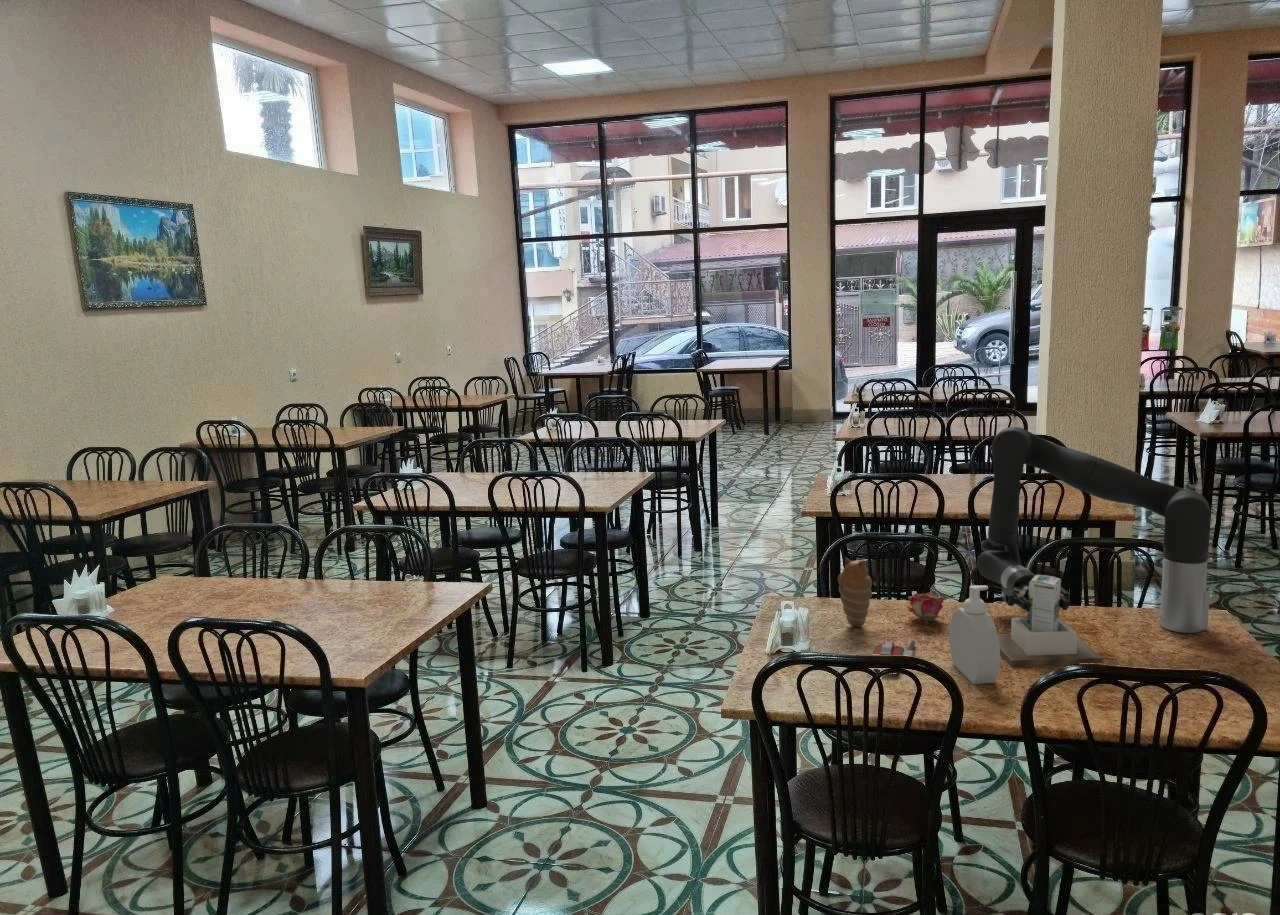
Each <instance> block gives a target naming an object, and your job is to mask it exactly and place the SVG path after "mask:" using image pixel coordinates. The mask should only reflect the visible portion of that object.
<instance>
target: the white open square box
mask: <svg viewBox="0 0 1280 915" xmlns="http://www.w3.org/2000/svg"><path fill="white" fill-rule="evenodd" d="M1010 620H1011V621H1010V623H1011V624H1010V625H1011V626H1010V629H1011V630H1010V634H1011V639H1012V640H1013V641H1014V642H1015V643H1016V644H1017V645H1018V646H1019V647H1020V648H1021V649H1022V650H1023V651H1024V652H1025V653H1026V654H1027V655H1059V654H1077V636H1078V632H1077V631H1076V630H1075V629H1074V628H1072V627H1071V626H1070V625H1069V624H1067V622H1066V621H1064V620H1063V619H1062V618H1061V617H1059V629H1058V631H1056V632H1031V631H1030V630H1029V629H1028V628H1027V621H1028V616H1027V617H1011V619H1010Z"/></svg>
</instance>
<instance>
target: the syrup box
mask: <svg viewBox="0 0 1280 915" xmlns="http://www.w3.org/2000/svg"><path fill="white" fill-rule="evenodd" d="M1034 575H1035V576H1034V578H1033V579H1032V580H1031V581H1030V582H1029V599H1028V601H1029V602H1030V611H1027V617H1028V621H1027V628H1028V629H1029V630H1030V631H1031V632H1056V631H1058V629H1059V618H1060V608H1061V607H1060V588H1061V587H1062V586H1061V583H1062V579H1061V578H1058V577H1056V576H1051V575H1046V574H1045V575H1044V574H1034Z"/></svg>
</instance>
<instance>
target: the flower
mask: <svg viewBox="0 0 1280 915" xmlns="http://www.w3.org/2000/svg"><path fill="white" fill-rule="evenodd" d="M907 598H908V601H909V604H910V605H911V606H910V605H906V608H907V609H908V612H910V613H912V614H913V615H915V616H916V617H917V618H918V619H920V620H924V625H925V626H928V625H929V621H930V622H932V621H937V619H939V618H940V617H941V615H940V616H938V615H939V613H940V612H941V610H942V609H943V607H944V606H943V603H944V597H943V596H940V597H937V596H935V595H934V593H932V592H931V591H929V592H927V593H924V592H923V593H919V594H918V593H915V594H913V595H911V596H910V595H908V596H907ZM945 615H946V614H943V616H945Z"/></svg>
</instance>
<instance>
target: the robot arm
mask: <svg viewBox="0 0 1280 915" xmlns="http://www.w3.org/2000/svg"><path fill="white" fill-rule="evenodd" d="M991 448H992V459H993V488H992V489H993V491H992V496H991V497H992V498H991V506H990V512H989V520H988V528H987V529H988V530H987V538H988V539H989V540H990V541H991V542H992V543H995V544H996V543H997V544H1000V545H1004V550H991V549H990V550H988V549H987V550H984V551H983V552H981V553H979V555H978V557H977V560H976V561H977V562H976V566H977V570H978V571H979V573H980V575H981V576H982V577H983V578H985V579H987V580H989V581H991V582H994V583H997V584H1000V585H1001V586H1002V589H1001V599H1002V600H1003V601H1004V602H1005V603H1006V605H1007V606H1010V607H1014V605H1016V606H1017V607H1019V608H1020V609H1022V610H1024V611H1025V612H1028V611H1030V602H1029V601H1028V599H1029V582H1030V581H1031V580H1032V579H1033V578H1034V576H1035V575H1036V574H1034V573H1033V572H1032V571H1030V569H1028V568H1026V566H1025V567H1024V566H1023V565H1022V564H1021V557H1020V553H1019V546H1018V528H1019V520H1020V518H1019V517H1020V516H1019V515H1020V483H1021V477H1022V472H1023V468H1024V465H1027V466H1030V467H1033V468H1037V469H1039V470H1042V471H1044V472H1046V473H1048V474H1050V475H1052V476H1054V477H1055V478H1057V479H1058V480H1060V481H1062V482H1063V483H1065V484H1066V485H1069V486H1071V487H1073V489H1076V490H1078V491H1081V492H1083V493H1085V494H1089V495H1091V496H1094V497H1097V498H1099V499H1102V500H1106V501H1110V502H1116V503H1121V504H1126V505H1133V506H1136V507H1139V508H1140V507H1141V508H1143V509H1146V510H1148V511H1150V512H1153V513H1155V514H1157V515H1160V516H1161V517H1163V518H1164V531H1163V552H1162V553H1163V555H1162V575H1161V576H1162V577H1161V591H1160V592H1161V594H1160V596H1161V597H1160V614H1159V626H1160V627H1162V628H1163V629H1165V630H1168V631H1172V632H1176V633H1183V634H1196V633H1201V632H1203V631H1208V626H1209V610H1210V609H1209V607H1210V594H1211V593H1210V592H1209V591H1208V590H1207V577H1208V576H1207V574H1208V561H1209V560H1208V559H1209V558H1208V557H1209V548H1210V534H1211V533H1210V532H1211V531H1210V530H1211V508H1210V504H1209V502H1208V500H1207V498H1205V497H1204V495H1202V494H1200V493H1199V492H1197V491H1193V490H1192V489H1191V490H1190V489H1186V488H1184V487H1179V486H1175V485H1171V484H1169V483H1164V482H1161V481H1158V480H1154V479H1151V478H1149V477H1147V476H1145V475H1143V474H1141V473H1138V472H1137V471H1134V470H1132V469H1129V468H1126V467H1124V466H1122V465H1120V464H1117V463H1115V462H1112V461H1109V460H1106V459H1103V458H1101V457H1098V456H1096V455H1092V454H1090V453H1086V452H1083V451H1080V450H1076V449H1073V448H1070V447H1066V446H1062V445H1059V444H1056V443H1054V442H1051V441H1049V440H1047V439H1045V438H1043V437H1040V436H1038V435H1036V434H1034V433H1032V432H1030V431H1028V430H1026V429H1024V428H1022V427H1019V426H1009V427H1005V428H1004V429H1002V430H1001V431H999V432H998V433H997V434H996V435H995V436H994V438H993V440H992V444H991ZM1070 598H1071V592H1069V591H1067V590H1066V589H1065V588H1063V587H1062V586H1061V588H1060V608H1061V609H1062V610H1063V611H1067V610H1068V609H1069V608H1070V604H1071V600H1070Z"/></svg>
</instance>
